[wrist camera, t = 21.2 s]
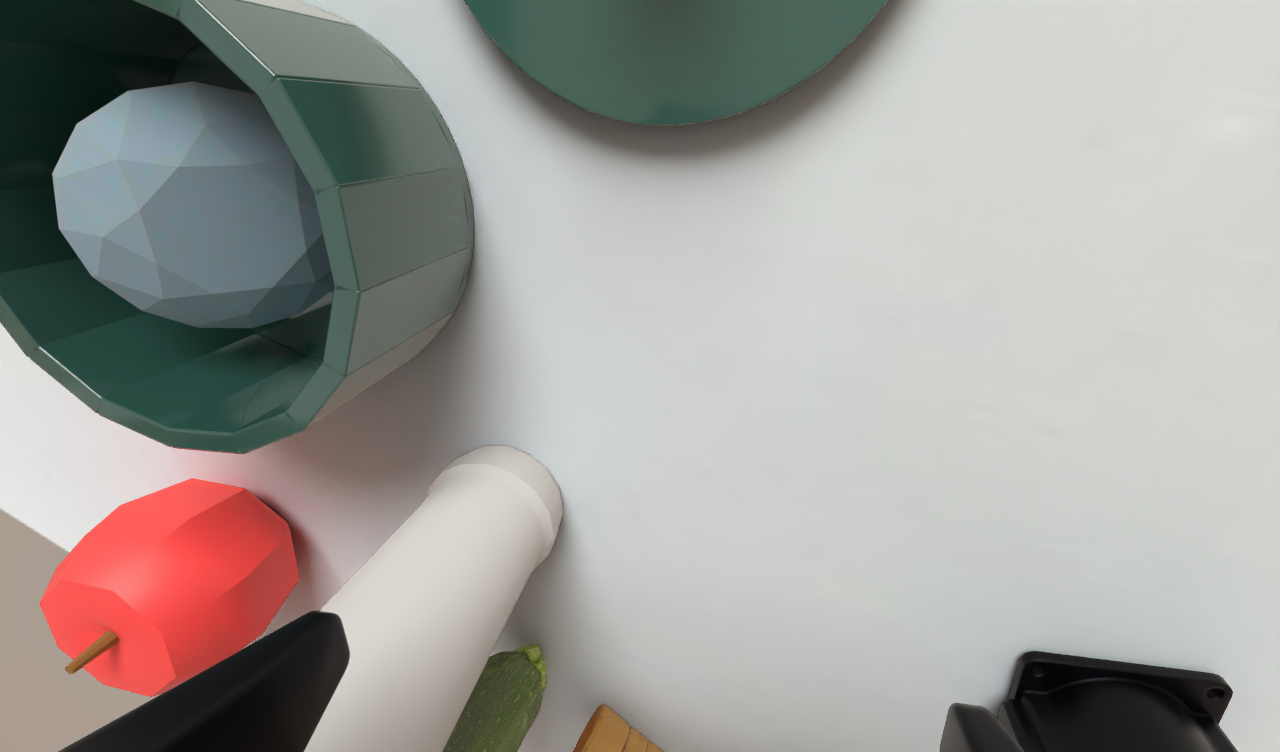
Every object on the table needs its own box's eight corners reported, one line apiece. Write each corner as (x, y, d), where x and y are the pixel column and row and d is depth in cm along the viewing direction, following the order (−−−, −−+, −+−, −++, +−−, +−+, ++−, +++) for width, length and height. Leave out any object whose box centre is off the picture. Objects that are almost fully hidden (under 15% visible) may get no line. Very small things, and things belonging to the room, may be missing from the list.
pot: (445, -14, 18) (283, -79, 12) (494, 378, 23) (396, 469, 17) (100, 12, 20) (-176, -32, 14) (211, 362, 25) (38, 437, 19)
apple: (307, 623, 30) (159, 782, 23) (164, 545, 30) (-30, 681, 23) (344, 511, 27) (185, 657, 19) (183, 423, 27) (-37, 537, 19)
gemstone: (45, 247, 20) (26, 320, 16) (85, 2, 17) (73, 31, 14) (305, 298, 25) (330, 361, 22) (363, 116, 22) (401, 156, 19)
